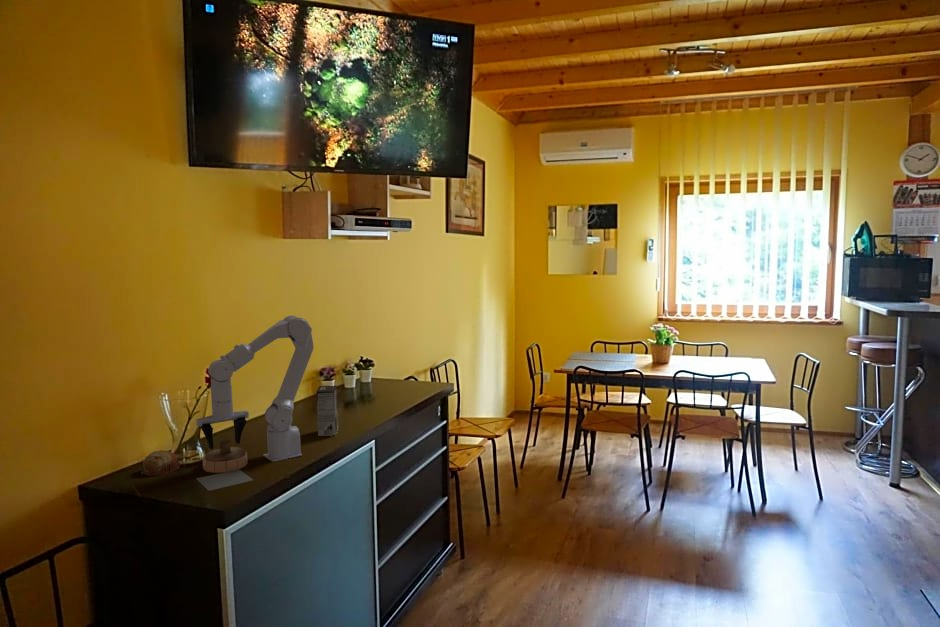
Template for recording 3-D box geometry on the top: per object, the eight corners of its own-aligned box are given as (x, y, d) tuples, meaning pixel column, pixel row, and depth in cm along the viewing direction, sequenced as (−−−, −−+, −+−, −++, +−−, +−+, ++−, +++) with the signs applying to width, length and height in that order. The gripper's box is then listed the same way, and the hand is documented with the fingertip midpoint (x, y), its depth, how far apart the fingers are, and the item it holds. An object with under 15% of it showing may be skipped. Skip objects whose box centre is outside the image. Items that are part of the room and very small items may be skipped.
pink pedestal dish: (239, 447, 194) (238, 433, 194) (249, 456, 185) (249, 441, 185) (201, 454, 188) (200, 440, 187) (210, 464, 179) (209, 449, 178)
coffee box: (320, 430, 225) (318, 385, 223) (338, 429, 226) (337, 384, 224) (317, 437, 216) (315, 391, 214) (336, 436, 217) (334, 390, 215)
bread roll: (144, 481, 186) (130, 460, 183) (176, 459, 192) (163, 439, 189) (156, 490, 179) (141, 468, 176) (188, 467, 185) (175, 445, 182)
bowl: (239, 457, 196) (238, 446, 195) (252, 467, 186) (252, 455, 186) (198, 465, 188) (198, 454, 188) (210, 476, 179) (210, 464, 178)
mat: (239, 470, 184) (239, 468, 184) (253, 481, 174) (253, 480, 174) (196, 479, 176) (195, 478, 176) (208, 492, 167) (208, 490, 167)
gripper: (200, 407, 178) (202, 453, 179) (251, 399, 187) (253, 443, 188) (193, 402, 183) (195, 448, 185) (243, 395, 192) (245, 438, 193)
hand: (224, 445), depth 187 cm, fingers open, 7 cm apart
